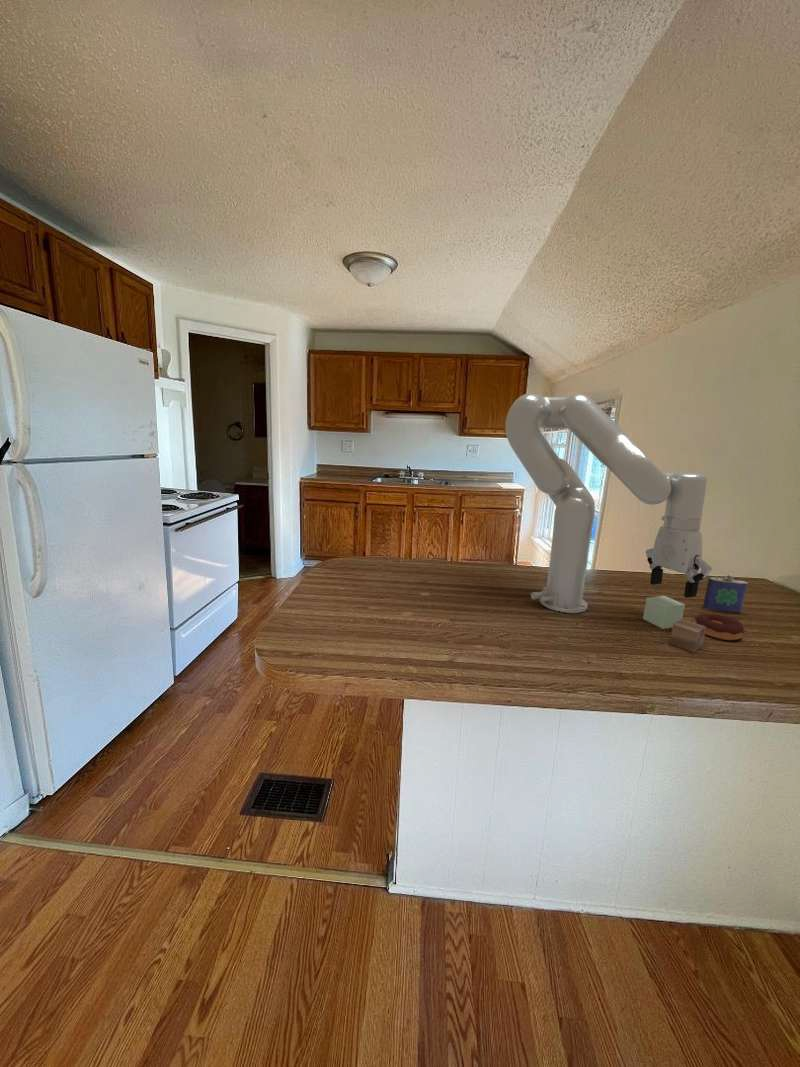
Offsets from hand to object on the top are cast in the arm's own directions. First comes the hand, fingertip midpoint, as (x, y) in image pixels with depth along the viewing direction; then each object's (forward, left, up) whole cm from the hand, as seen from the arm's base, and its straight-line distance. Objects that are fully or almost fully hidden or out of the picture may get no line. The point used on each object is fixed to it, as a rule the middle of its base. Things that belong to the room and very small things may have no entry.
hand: (672, 590), depth 108 cm
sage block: (-1, +1, -9) cm, 9 cm away
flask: (+23, +3, -9) cm, 25 cm away
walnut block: (-6, -10, -9) cm, 15 cm away
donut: (+8, -7, -10) cm, 14 cm away
